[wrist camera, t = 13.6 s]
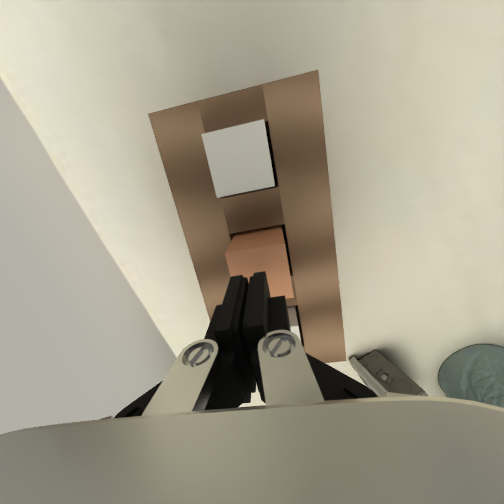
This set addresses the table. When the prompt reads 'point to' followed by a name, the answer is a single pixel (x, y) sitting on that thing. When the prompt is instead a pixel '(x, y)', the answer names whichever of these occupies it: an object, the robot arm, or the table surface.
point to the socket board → (261, 198)
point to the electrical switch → (384, 376)
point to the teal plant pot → (475, 374)
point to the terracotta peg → (261, 258)
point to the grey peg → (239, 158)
